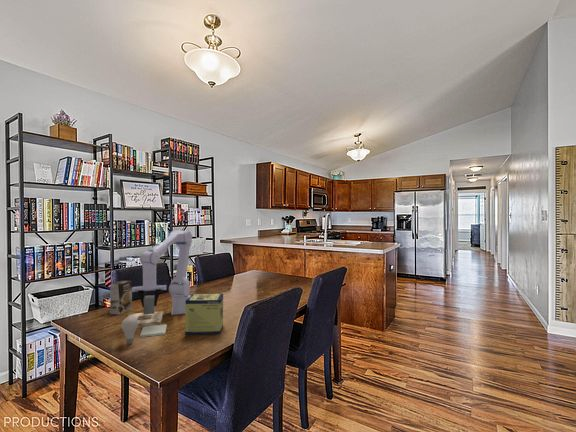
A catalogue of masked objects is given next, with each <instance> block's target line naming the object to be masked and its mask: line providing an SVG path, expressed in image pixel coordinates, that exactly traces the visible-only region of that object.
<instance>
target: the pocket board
mask: <svg viewBox="0 0 576 432" xmlns="http://www.w3.org/2000/svg"><path fill="white" fill-rule="evenodd" d="M127 317H134V318H136V319H137V321H138V326H137V328H136V329H141V328H142V329H143V327H146V326H156V325H162V321H163V317H164V311H162V310H161V311H155V313H154V314H144V312H139V313H137V312H136V313H129V314H128V315H127Z"/></svg>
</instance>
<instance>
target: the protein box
mask: <svg viewBox="0 0 576 432" xmlns="http://www.w3.org/2000/svg"><path fill="white" fill-rule="evenodd" d="M189 295H190V296H189V298H188V299H187V300H186V304H185V314H184V315H185V323H184V326H185V327H184V335H185V336H196V335H197V336H202V335H203V336H205V335H209V334H214V335H220V334H221V332H222V329H223V327H224V293H199V294H198V293H192V294H189Z"/></svg>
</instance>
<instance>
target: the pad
mask: <svg viewBox="0 0 576 432" xmlns="http://www.w3.org/2000/svg"><path fill="white" fill-rule="evenodd" d="M167 327H168V325H167V324H166V323H165V324H161V325H156V326H146V327H142V330H141V332H140V335H139V337H140V338H146V337H155V336H164V335H166V331H167Z"/></svg>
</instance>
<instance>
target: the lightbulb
mask: <svg viewBox="0 0 576 432" xmlns="http://www.w3.org/2000/svg"><path fill="white" fill-rule="evenodd" d="M137 326H138V321H137V319H136V318H134V317H128V316H126V317H125V318H124V319H123V320H122V322H121V325H120V327H121V330H122V332H123V333H124V336H125V342H126V344H128V345H131V344H132V343H133V342H134V338H135V333H136V331H137V329H138V328H137Z"/></svg>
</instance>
